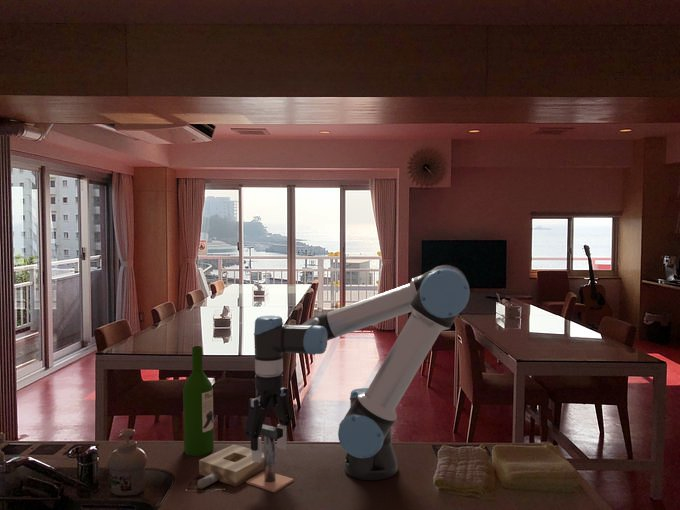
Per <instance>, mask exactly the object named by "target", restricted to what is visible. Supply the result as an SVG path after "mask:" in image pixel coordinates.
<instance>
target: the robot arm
mask: <svg viewBox="0 0 680 510" xmlns="http://www.w3.org/2000/svg"><path fill="white" fill-rule="evenodd" d="M470 294H471V290H470V284H469V282H468V279H467V277H466V275H465V273H463V271H462V270H460V269H459V267H456V266H453V265H449V264H441V265H438V266H435V267H433V268H432V269H431V270H428V271H427V272H424V273H423V274H420V275H418V276H415V277H412V278H411V280H410V282H409V283H407V284H404V285H401V286H398V287H396V288H393V289H390V290H386V291H384V292H381V293H378V294H376V295H373V296H370V297H367V298H364V299H362V300H361V299H360V300H358V301H356V302H354V303H351V304H347V305H345V306H342V307H340V308H339V307H338V308H336V309H334V310H331V311H328V312H326V313H323V314H320V315H314V316H311V317H310V318H309V319H307V320H306V321H305V322H303V323H302V324H284V322H283V318H282V317H281V316H279V315H262V316H258V317H257V318H256V319H255V321H254V333H253V338H254V373H255V375H254V388H255V389H256V392H257V395H256V397H255V398H249V399H248V413H247V418H246V424H245V431H244V437H245V438H248V439H250V449H251V450H252V461H255V462H258V463H260V462H262V452H263V451H262V437H260V436H261V435H260V432H261V429H262V426H263V424H264V423H265V419H266V416H267V414H268V413H269V411H270V410H271V409H273V412H274V414H275V416H276V418H277V420H278V424H277V426H276V428H280V429H283V437H281V438H279V439H276V441H277V445H276V447H277V449H282V450H287V446H288V445H287V444H288V443H287V442H288V441H287V436H288V426H290V425H291V423H292V420H293V414H292V408H291V403H290V399H289V388H288V387H287V388H286V387H284V375H283V372H284V353H285V354H288V353H289V354H305V355H306V354H307V355H311V356H312V355H322V354H324V353H326V350H327V347H328V341H330V340H334V339H335V338H338V337H342V336H344V335H347V334H350V333H353V332H356V331H358V330H362V329H364V328H367V327H368V328H369V327H371V326H373V325H376V324H379V323H382V322H385V321H387V320H391V319H395V318H397V317H400V316H402V315H406V314H409V313H411V314H410V315H409V317H408V319H407V321H406V323H405V325H404V326H403V328H402V329H401V331H400V333H399V335H398V336H397V339H396V340H395V341H394V343H393V345H392V347H391V349H390V350H389V352H388V353H387V355H386V357H385V359H384V361H383V362H382V364H381V365H380V367H379V369H378V370H377V371H376V374H375V376H374V378H373V379H372V381H371V383H370V384H369V387H362V388H355V389H352V391H350V397H349V400H350V406H349V409H348V411H347V413H346V414H345V416H344V418H343V419H342V420H341V422H340V423H339V426H338V432H337V435H338V437H337V438H338V440H339V443H340V447H342V449H343V450H344V451H345V452H346V455H345V458H344V471H345V473H346V474H347V475H348V476H350V477H352V478H354V479H357V480H363V481H381V480H386V479H389V478H392V477H393V476H395V475H396V474H397V472H398V460H397V456H396V454H395V451H394V447H393V445H392V426H393V424H395V422H396V420H397V418H398V415H397V412H396V408H397V407H398V405H399V403H400V401H401V399H402V398H403V396H404V395H405V393H406V391H407V390H408V388H409V386H410V384H411V383H412V381H413V379H414V377H415V376H416V375H417V373H418V371H419V370H420V367H421V365H422V364H423V363H424V361H425V359H426V357H427V356H428V354H429V353H430V350H431V349H432V347H434V344H435V342H436V341H437V339H438V337H439V335H440V333H442V331H447V330H450V329H451V327H452V326H453V324H454V322H455V321H456V319H457V317H458V316H459V314H460V313H461V312H462V311H463V310H464V309H465V308H466V307H467V305H468V302H469V300H470Z"/></svg>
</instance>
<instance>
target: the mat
mask: <svg viewBox="0 0 680 510" xmlns="http://www.w3.org/2000/svg"><path fill="white" fill-rule="evenodd" d="M275 474H276V480H275V481H274V482H265V478H264V471H263V472H261V473H260V474H258V475H256V476H254V477H252V478H250V479H249V480H247V481H245V483H246V484H248V485H250V486H254V487H257V488H260V489H264V490H266V491H268V492H272V493H277V492H278V491H280V490H281V489H283V488H285V487H286V486H288V485H289V484H291V483H293V482H294V478H291V477H290V476H285V475H282V474H278V473H276V472H275Z"/></svg>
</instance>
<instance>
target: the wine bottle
mask: <svg viewBox="0 0 680 510" xmlns="http://www.w3.org/2000/svg"><path fill="white" fill-rule="evenodd" d="M191 355H192V357H191V359H192V361H191V363H192V364H191V365H192V367H191V368H192V371H191V373H190V374H189V376H188V378H187V379H186V380H185V381H186V382H185V383H184V385H183V388H182V401H183V403H182V404H183V405H182V406H183V410H182V412H183V413H182V414H183V417H182V419H183V451H184V454H186V455H187V456H193V457H197V456H198V457H200V456H205V455H208V454H210V453H211V452H213V450H214V394H213V393H214V389H213V385H212V382H211V381H210V379H209V378H208V376H207V374H205V372H204V368H203V367H204V365H203V364H204V363H203V346H201V345H196V346H192V354H191Z"/></svg>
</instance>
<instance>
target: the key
mask: <svg viewBox="0 0 680 510" xmlns="http://www.w3.org/2000/svg"><path fill="white" fill-rule="evenodd" d="M259 436H263V453H264V471H263V472H264V478H265V482H274V481H275V480H276V474H277V473H276V440H277V439H279V438H281V437H283V429H280V428H277V426H276V427H275V426H271V425H268V424H264V423H263V426H262V429H261V432H260V435H259ZM275 473H276V474H275Z"/></svg>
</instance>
